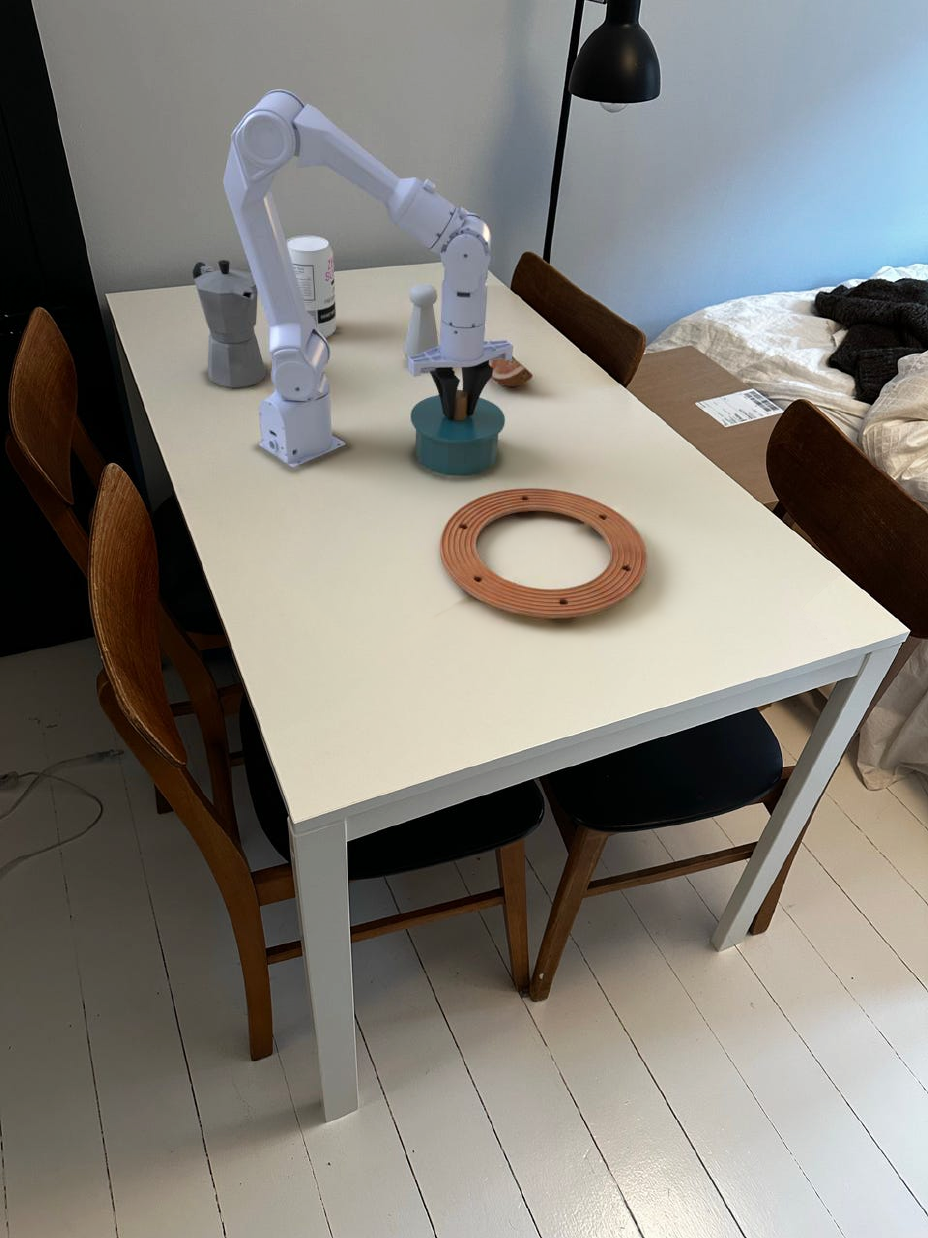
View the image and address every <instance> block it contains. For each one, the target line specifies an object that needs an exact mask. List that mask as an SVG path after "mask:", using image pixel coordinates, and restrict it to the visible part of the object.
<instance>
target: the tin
mask: <svg viewBox="0 0 928 1238" xmlns="http://www.w3.org/2000/svg"><path fill="white" fill-rule="evenodd" d="M498 445H499V434H498V435H496V436H494V437H493V438H491V439H488V440H485V441H482V442H477V443H470V444H453V443H446V442H441V441H437V440H434V439H431V438H429V437H426V436H425V435H423V434H421V433H420V432H418V431H417V430H416V429H415V453H414V454H415V458H416V459H417V460H418V462H419V464H420V465H422V467H425V468H426V469H428V470H429V471H431V472H434V473H438V474H441V475H444V476H454V477H455V476H457V477H466V476H471V475H477V474H480V473H482V472H484V471H486V470H489V469H490V468H491V467H492V466H493V465H494V463H495V462H496V461H497V455H498Z"/></svg>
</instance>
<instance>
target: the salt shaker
mask: <svg viewBox="0 0 928 1238" xmlns="http://www.w3.org/2000/svg"><path fill="white" fill-rule="evenodd" d="M408 293H409V294H408V297H409V301H410V303H411V304H412V308H411V309H412V310H411V314H410V319H409V324H408V328H407V333H406V338H405V342H404V347H403V353H404V356H405V358H406V361H407V362H408V357H410V356H414V355H418V354H421V353H423V352H426V351H428V350H430V349H433V348H435V347H438V346H440V342H439V336H438V329H437V322H436V315H435V308H434V304H436V302H437V299H438V291H437V289H436V288H435V287H434V286H433V285H431V284H428V283H417V284H414V285H413V286H412V287H410V289H409V292H408Z"/></svg>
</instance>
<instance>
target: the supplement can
mask: <svg viewBox="0 0 928 1238" xmlns="http://www.w3.org/2000/svg"><path fill="white" fill-rule="evenodd" d="M286 244H287V247H288V250H289V254H290V257H291V260H292V264H293V267H294V271H295V274H296V277H297V281H298V284H299V288H300V291H301V294H302V298H303V301H304V304H305V308H306V311H307V312H308V313H309V314H310V315H311V316H312V317H313V318H314V320H315V323H316V326H317V328H318V330H319V332H320V333H321V334H322V335H323V336H324V337H325V339H327V338H329V337H330V336H332V334H333V333H335V332H336V329H337V313H336V312H337V311H336V289H335V286H336V285H335V264H334V251H333V250H332V247H331V246H330V242H329V241H328V240H327V239H325V238H324V237H321V236H316V235H296V236H293V237H290V238H288V239H286Z"/></svg>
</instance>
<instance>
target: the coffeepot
mask: <svg viewBox="0 0 928 1238" xmlns="http://www.w3.org/2000/svg"><path fill="white" fill-rule="evenodd" d="M217 263H218V266H219V270H215V268H214V267H213V266H212V265H209V264H207V265H206V264H205V263H204V262H201V261H198V262H196V264H195V265H194V266H193V269H192V277H193V282H194V284H195V288H196V290H197V294H198V298H199V301H200V304H201V308H202V311H203V315H204V319H205V322H206V325H207V328H208V329H209V335H208V347H207V348H208V349H207V350H208V351H207V373H208V377H209V380H210V382H212V383H213V384H215V385H218V386H219V387H224V388H231V389H232V388H235V389H238V388H239V389H240V388H246V387H250V386H254V385H256V384H258V383H259V382H261V381H263V379H264V378H265V377H266V376H267V375H268V374H267V372H266V367H265V363H264V361H263V360H264V359H263V357H262V353H261V349H260V346H259V343H258V338H257V335H256V334H255V326H256V325H257V314H258V298H259V297H258V296H259V293H258V290H257V287H256V284H255V281H254V278H253V275H252V272H247V271H242V270H238V269H234V268H230V261H229V260H226V259H223V260H222V259H221V260H219V261H217Z"/></svg>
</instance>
